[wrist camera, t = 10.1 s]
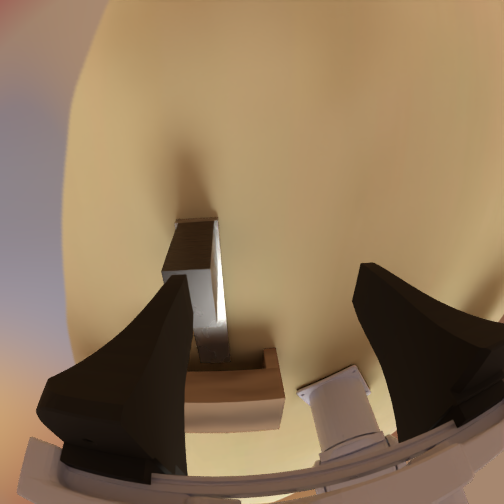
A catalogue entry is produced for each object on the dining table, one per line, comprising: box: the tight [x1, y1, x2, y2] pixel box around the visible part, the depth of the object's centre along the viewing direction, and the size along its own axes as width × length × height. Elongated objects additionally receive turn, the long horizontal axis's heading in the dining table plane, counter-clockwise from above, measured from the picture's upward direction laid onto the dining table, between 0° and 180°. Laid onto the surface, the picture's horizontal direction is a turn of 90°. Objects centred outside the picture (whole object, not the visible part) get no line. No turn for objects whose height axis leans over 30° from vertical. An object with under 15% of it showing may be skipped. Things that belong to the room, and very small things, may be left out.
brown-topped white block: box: [161, 217, 231, 363], centre depth 20 cm, size 15×3×7 cm, turn 1°
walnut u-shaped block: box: [184, 348, 285, 433], centre depth 26 cm, size 8×12×6 cm
